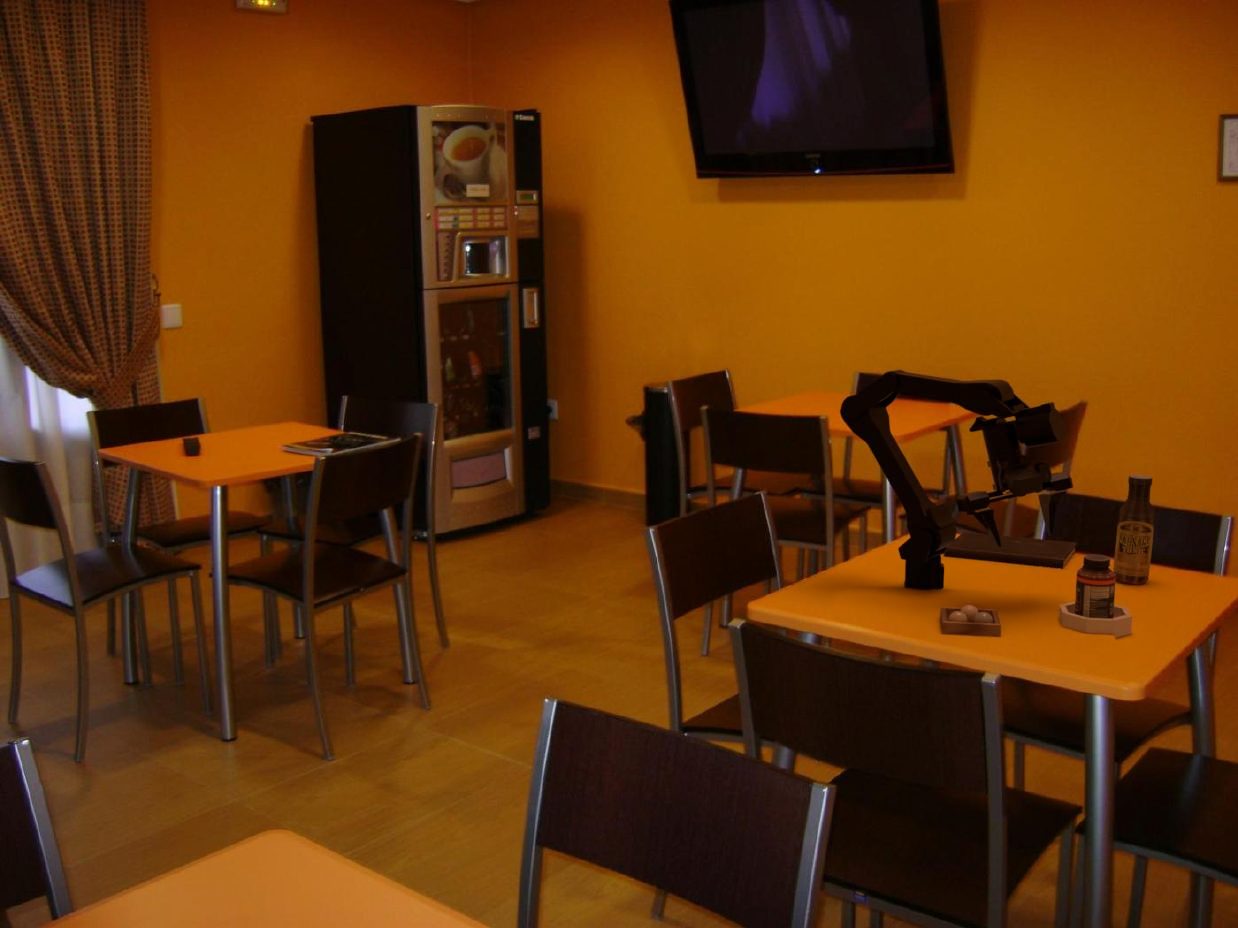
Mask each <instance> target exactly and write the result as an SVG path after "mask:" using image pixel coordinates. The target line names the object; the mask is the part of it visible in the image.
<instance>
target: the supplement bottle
mask: <svg viewBox="0 0 1238 928" xmlns="http://www.w3.org/2000/svg"><path fill="white" fill-rule="evenodd" d="M1110 566H1111V558H1110V557H1109V556H1107V555H1103V554H1095V553H1094V554H1091V553H1090V554H1086V555H1084V556H1083V565H1082V567H1080V568H1079V569H1078V570H1077V571H1076V580H1075V583H1076V585H1075V599H1074V601H1075V614H1076V615H1080V616H1083V617H1087V618H1106V619H1113V615H1114V605H1115V595H1116V594H1115V593H1116V580H1115V573H1114V570H1113V569H1110Z"/></svg>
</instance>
